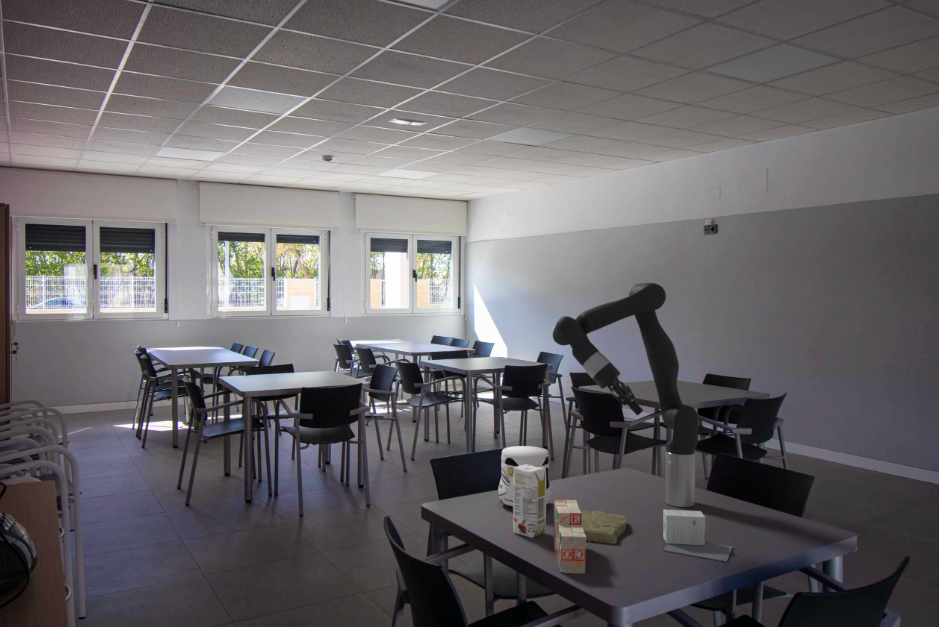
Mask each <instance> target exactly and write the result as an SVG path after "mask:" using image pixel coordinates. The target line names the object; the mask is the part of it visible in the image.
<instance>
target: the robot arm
mask: <svg viewBox="0 0 939 627" xmlns="http://www.w3.org/2000/svg"><path fill="white" fill-rule="evenodd" d="M666 300H667V294H666V290H665V289H664V287H663V286H662V285H660V284H658V283H656V282H655V283H654V282H645V283H642V282H641V283H636V284H633V286H632V287H631V288H630V290H629V292H628V296H626V297H624V298H621V299H618V300H617V299H616V300H614V301H609V302H605V303H603V304H600V305H596V306H594V307H592V308H589V309H586V310H584V311H582V312H580V313H579V314H578V315H577V316H576V318H573V317H571V316H567V315H565V316H561V317H560V318H559V319H558V320H557V321H556V324H555V326H554V328H553V331H552V340H553V341H554V342H555V343H556V344H557V345H560V346H569V345H570V348H571V353H572V356H573V358H574V359H575V360H576V361H577V362H578V363H579V365H580V366H582V369H584V370H585V372H586V373H587V375H588V376H590V378H591V379H592V380H593V381H594V382H595V383H596V384H597V385H598V387H599V388H600V389H601V390H603V389H605V388H608V389H609V390H608V391H609V392H610V396H611V397H612V398H613V399H615V400H616V401H617V402H619V403H621V405H623V406H626V407H628V408H629V409H630V410H631V411H632V412H633V414H635V415H636V416H639V415H641V414H642V413H643V412H644V409H643V408H642V407H641V406H640V404H638V403H637V401H636V396H635V395H634V393H633V391H632V389H631V388H630V386H629V384H628V385H626V383H624V382H623V381H620V379H619V376H620V374H621V372H620V371H619V369H618V368H617V367H616V366H615V365H614V364H613V363H612V361H610V360H609V359H608V357H607V356H606V355H604V354H603V353H602V352H601V351H600V350H599V349H598V348H597V347H596V346H595V345H594V344H593V343H592V342H591V341H590V339H589V337H588V335H589V334H590V333H593V332H595V331H598V330H601V329H602V328H605V327H608V326H609V325H612V324H615V323H617V322H619V321H621V320H624V319H627V318H628V317H632V316H634V317H635V321H636V322H637V325H638V328H639V332H640V336H641V338H642V342H643V345H644V350H645V352H646V357H647V361H648V364H649V369H650V370H651V374H652V377H653V382H654V384H655V388H656V391H657V396H658V401H659V410H660V413H661V418H662V422H663V423H664V425H665V426H666V427H667V428H668V429H670V430H672V439H671V440H669V441H668V442H666V444H665V447H666V448H665V502H664V503H665V504H667V505H670V506H673V507H676V508H677V507H678V508H690V507H694V506H695V488H696V486H695V484H696V483H695V480H696V479H695V478H696V475H695V474H696V471H695V470H696V469H695V468H696V462H695V461H696V459H695V458H696V448H697V445H698V442H699V427H700V426H699V425H700V424H699V423H700V420H699V414H698V412H697V410H696V409H695V408H694V407H693V406H691V405H688V404H684V403H683V402H682V399H681V395H680V393H679V389H678V378H679V370H680V366H679V360H678V355H677V351H676V348H675V345H674V343H673V341H672V340H671V338H670V337H669V335H668V334H667V332H666V331H665V330H664V328H663V327H662V325H661V324H660V321H659V319H658V316H657V312H656V310H657V311H658V310H659V309H660V308H662V306H664V304H665V302H666Z"/></svg>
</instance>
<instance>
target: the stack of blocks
mask: <svg viewBox="0 0 939 627" xmlns="http://www.w3.org/2000/svg"><path fill="white" fill-rule="evenodd" d="M580 510H581V509H580V508H579V505H578V502H577V500H576V499H553V530H554V531H553V546H554V551H556V552H555V555H556V554H557V555H556V558H558V559H557V561H558V567H559V572H560V573H561V572H563V573H562V574H586V556H587V555H586V553H587V552H586V549H587V541H586V535H585V532H584V530H583V527H582V513H581V511H580Z"/></svg>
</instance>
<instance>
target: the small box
mask: <svg viewBox="0 0 939 627" xmlns="http://www.w3.org/2000/svg"><path fill="white" fill-rule="evenodd" d="M662 511H663V512H662V515H663V516H662V518H663V521H662V523H663V524H662V525H663V529H662V530H663V532H662V533H663V534H662V538H663V540H664V541H665V544H666V545H667V544H686V545H705V542H706V541H705V540H706V538H705V536H706V516H705V515H704V514H703V511H701V510H685V509H683V510H680V509H662Z"/></svg>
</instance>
